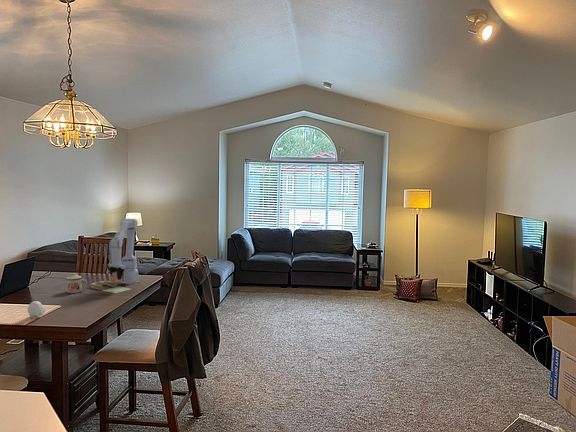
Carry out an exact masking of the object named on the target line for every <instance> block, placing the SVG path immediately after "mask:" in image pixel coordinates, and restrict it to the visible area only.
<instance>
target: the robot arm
mask: <svg viewBox="0 0 576 432" xmlns="http://www.w3.org/2000/svg"><path fill="white" fill-rule="evenodd" d="M137 230H138V219H136V218H122V219H120V229H119V230H118V231H117V232H116V233H115V235H114V237H113V238H111V240H110V241H109V244H108V246H109V249H110V252H111V253H110V254H111V256H110V257H111V263H107V267H108V268H107V269H108V271H109V273H110V276H111V275H112V273H113V272H117V278H118V280H120V279H121V280H122V278H123V281H121V282H120V283H121V284H125V285H131V284H136V283H139V282H140V280H139V278H140V275H139V270H138V258H137V257H136V256H135V255H134V250H135V249H134V247H135V232H137ZM125 237H126V243H125V244H126V246H125V255H124V256H123V257H122V250H121V248H122V247H123V242H124V239H125Z"/></svg>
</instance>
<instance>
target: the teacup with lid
mask: <svg viewBox="0 0 576 432" xmlns="http://www.w3.org/2000/svg"><path fill="white" fill-rule="evenodd" d="M65 280H66V293H68V294H77V293H81V292H82V291H83V288H86V286H87V283H88V281H87V280H86V279H83V277H82V276H81V275H78V274H76V273H75V272H73V273H71V275H69V276H66V278H65ZM83 282H84V283H85V284H84V285H83V284H82V283H83Z"/></svg>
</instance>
